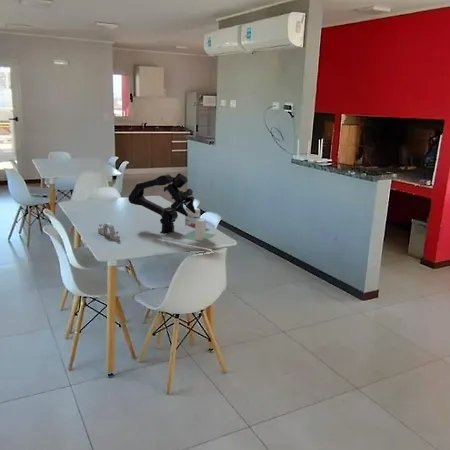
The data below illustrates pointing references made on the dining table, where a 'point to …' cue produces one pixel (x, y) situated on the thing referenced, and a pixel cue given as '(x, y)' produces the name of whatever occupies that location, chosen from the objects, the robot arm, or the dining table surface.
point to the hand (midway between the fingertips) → (191, 214)
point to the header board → (192, 236)
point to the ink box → (192, 216)
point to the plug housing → (200, 229)
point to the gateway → (112, 231)
